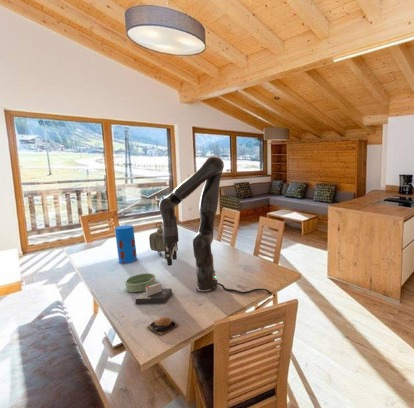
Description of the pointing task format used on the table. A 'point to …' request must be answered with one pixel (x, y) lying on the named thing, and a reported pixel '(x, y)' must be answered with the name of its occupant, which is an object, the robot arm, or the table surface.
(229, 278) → the table surface
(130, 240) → the thermos
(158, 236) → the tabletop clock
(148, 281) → the basin
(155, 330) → the open sandwich
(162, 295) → the rotary switch dial
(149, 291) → the red tipped lever
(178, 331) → the table surface
